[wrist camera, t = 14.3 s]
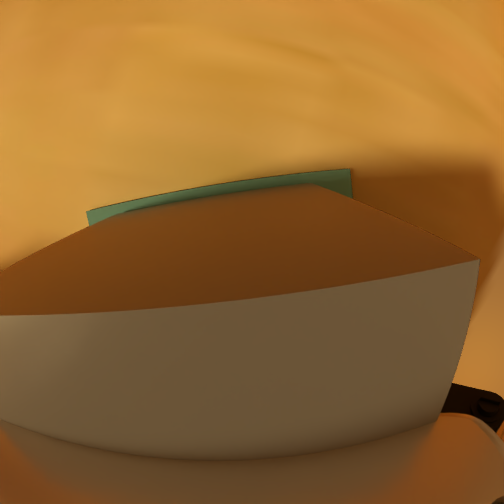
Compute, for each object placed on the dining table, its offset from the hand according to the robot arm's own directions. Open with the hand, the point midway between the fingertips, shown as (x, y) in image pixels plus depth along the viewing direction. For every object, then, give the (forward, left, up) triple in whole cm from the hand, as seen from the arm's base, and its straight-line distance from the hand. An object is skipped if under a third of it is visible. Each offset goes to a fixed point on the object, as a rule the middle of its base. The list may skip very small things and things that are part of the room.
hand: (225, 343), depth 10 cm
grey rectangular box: (0, 0, -2) cm, 2 cm away
